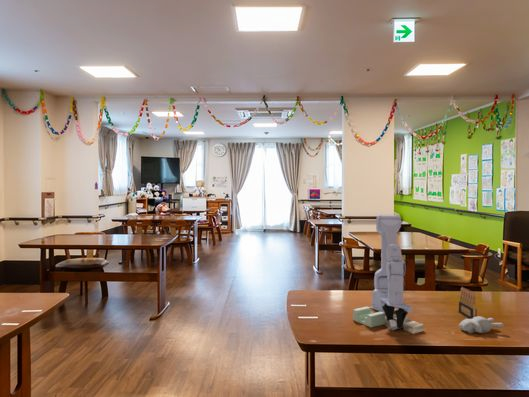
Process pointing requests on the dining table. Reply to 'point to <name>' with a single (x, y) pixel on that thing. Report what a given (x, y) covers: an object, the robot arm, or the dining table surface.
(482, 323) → the bunny figurine
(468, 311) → the ammunition clip
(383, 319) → the v block
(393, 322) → the axle
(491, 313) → the dining table surface
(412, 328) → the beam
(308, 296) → the dining table surface
